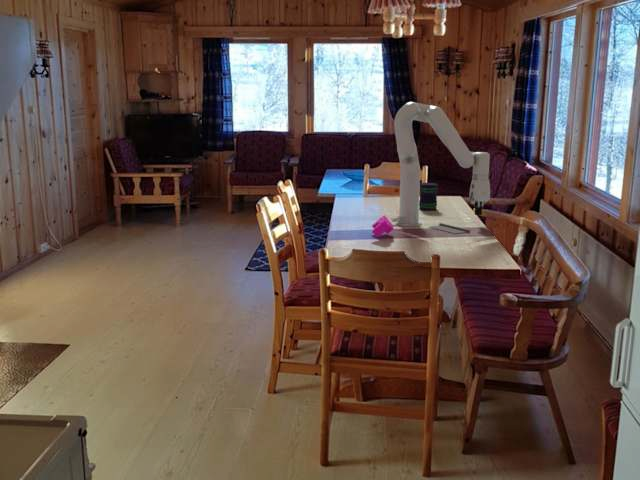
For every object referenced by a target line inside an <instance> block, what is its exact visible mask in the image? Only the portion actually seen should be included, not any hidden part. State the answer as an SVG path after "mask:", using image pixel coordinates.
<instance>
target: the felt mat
mask: <svg viewBox="0 0 640 480" xmlns="http://www.w3.org/2000/svg"><path fill="white" fill-rule="evenodd" d="M428 228H429V229H433V230H439V231H442V232H445V233H449V234H450V233H451V234H454V235H457V234H464V233H467V232H465V231H461V230H457V229H453V228H448V227H444V226H440V225H439V224H438V225H433V226H429V227H428Z"/></svg>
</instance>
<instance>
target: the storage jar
mask: <svg viewBox="0 0 640 480" xmlns="http://www.w3.org/2000/svg"><path fill="white" fill-rule="evenodd" d="M438 186H439V185H438V183H435V182H420V187H419V210H421V211H425V212H426V211H427V212H435V211H437V206H438V204H437V203H438V200H437V199H438V198H437V196H438Z"/></svg>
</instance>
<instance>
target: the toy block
mask: <svg viewBox="0 0 640 480" xmlns="http://www.w3.org/2000/svg"><path fill="white" fill-rule="evenodd" d="M371 228H373V229H372V230H371V232H372V234H373V235H374V236H375V237H376V238H379V237H380V236H381V235H383V234H384V233H386V234H387V235H388V234H390V233H391V232H392V231H393V230H394V225H393V222H392V221H390V220H389V219H388V217H387V216H386V215H385V214H383V215H382V216H381V217H380V218H379V219H378V220H376V221H375V222H374V223H373V224H372V225H371Z"/></svg>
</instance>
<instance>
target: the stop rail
mask: <svg viewBox="0 0 640 480" xmlns="http://www.w3.org/2000/svg"><path fill="white" fill-rule="evenodd" d="M439 225H440V226H444V227H448V228H453V229H457V230H461V231H465V232H466V233H468V234H470V233H471V229H468V228H463V227H460V226H454V225H451V224H446V223H443V222H439V224H438V226H439Z"/></svg>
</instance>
